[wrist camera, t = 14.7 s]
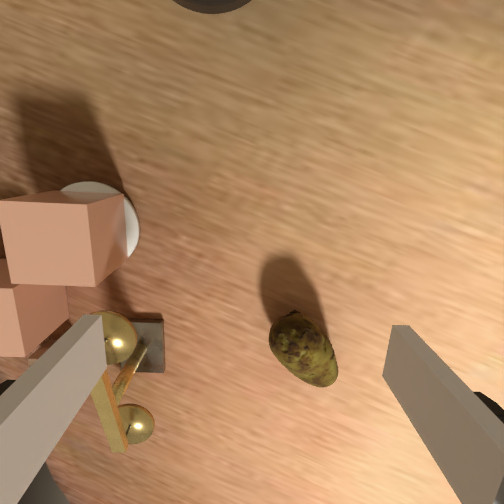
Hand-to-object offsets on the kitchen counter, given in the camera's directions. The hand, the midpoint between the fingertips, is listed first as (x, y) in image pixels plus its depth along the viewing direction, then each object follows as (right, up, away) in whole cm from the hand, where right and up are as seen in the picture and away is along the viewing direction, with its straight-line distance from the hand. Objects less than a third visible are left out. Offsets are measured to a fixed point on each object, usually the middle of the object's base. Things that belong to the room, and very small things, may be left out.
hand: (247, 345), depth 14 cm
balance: (-15, -9, +30) cm, 35 cm away
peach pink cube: (-19, +8, +24) cm, 32 cm away
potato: (+7, -8, +31) cm, 32 cm away
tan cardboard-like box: (-29, -1, +28) cm, 40 cm away
